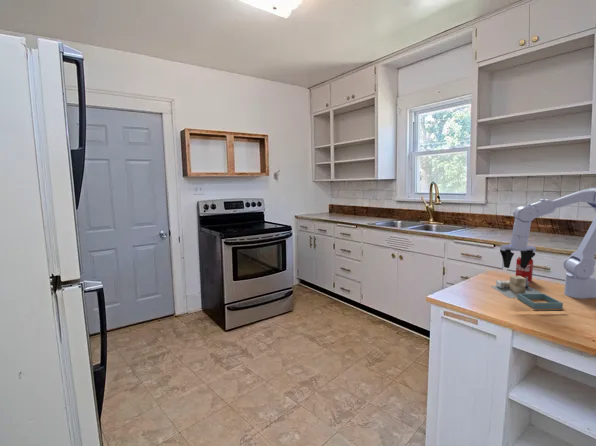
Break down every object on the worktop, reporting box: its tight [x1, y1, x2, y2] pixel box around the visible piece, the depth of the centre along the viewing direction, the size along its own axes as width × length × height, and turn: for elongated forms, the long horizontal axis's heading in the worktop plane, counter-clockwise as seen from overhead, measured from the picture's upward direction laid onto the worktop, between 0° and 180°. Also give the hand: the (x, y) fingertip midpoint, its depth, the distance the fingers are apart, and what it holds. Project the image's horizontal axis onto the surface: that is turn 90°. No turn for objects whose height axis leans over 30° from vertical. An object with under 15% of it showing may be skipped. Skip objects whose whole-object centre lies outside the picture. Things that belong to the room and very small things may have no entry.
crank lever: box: [495, 280, 530, 288], centre depth 142 cm, size 12×4×3 cm, turn 87°
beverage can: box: [515, 255, 534, 283], centre depth 151 cm, size 6×6×12 cm
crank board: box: [490, 285, 542, 299], centre depth 137 cm, size 16×14×1 cm
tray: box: [516, 292, 564, 312], centre depth 124 cm, size 10×10×3 cm
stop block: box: [509, 275, 526, 293], centre depth 137 cm, size 4×4×6 cm
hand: (514, 267), depth 136 cm, fingers open, 7 cm apart
